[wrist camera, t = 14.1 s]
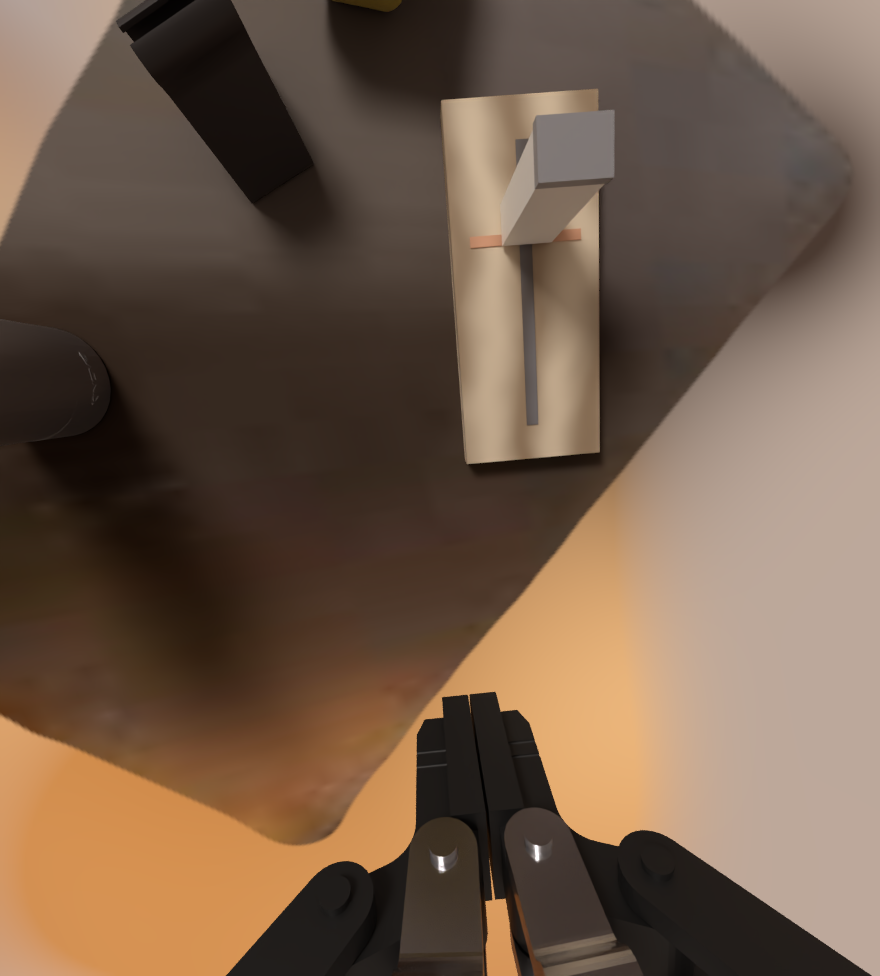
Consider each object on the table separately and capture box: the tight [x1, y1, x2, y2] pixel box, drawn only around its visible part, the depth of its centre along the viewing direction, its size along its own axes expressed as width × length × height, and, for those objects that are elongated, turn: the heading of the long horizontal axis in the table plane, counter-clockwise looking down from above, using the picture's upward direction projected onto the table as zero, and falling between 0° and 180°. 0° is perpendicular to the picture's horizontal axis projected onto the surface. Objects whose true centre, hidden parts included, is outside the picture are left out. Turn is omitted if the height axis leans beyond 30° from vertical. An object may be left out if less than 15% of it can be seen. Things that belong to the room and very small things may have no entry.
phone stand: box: [116, 0, 314, 203], centre depth 30 cm, size 9×6×12 cm, turn 29°
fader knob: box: [500, 110, 614, 246], centre depth 30 cm, size 4×3×12 cm
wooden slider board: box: [440, 89, 600, 464], centre depth 38 cm, size 12×28×2 cm, turn 5°
